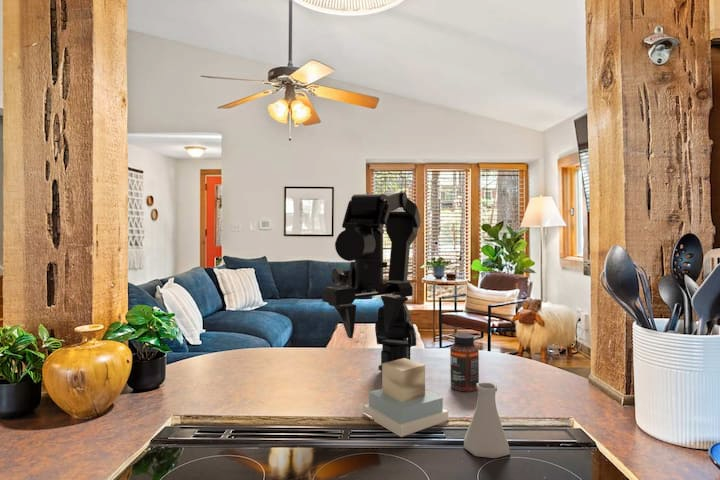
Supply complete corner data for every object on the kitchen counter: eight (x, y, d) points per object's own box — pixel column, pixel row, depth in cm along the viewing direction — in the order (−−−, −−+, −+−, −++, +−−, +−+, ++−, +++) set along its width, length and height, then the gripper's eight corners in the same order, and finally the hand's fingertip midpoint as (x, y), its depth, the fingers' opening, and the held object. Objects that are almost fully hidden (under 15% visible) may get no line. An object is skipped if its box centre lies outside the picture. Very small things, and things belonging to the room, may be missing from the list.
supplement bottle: (481, 385, 100) (481, 333, 99) (475, 394, 94) (476, 340, 94) (453, 381, 102) (454, 330, 102) (447, 390, 97) (447, 337, 96)
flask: (456, 438, 75) (457, 378, 75) (499, 436, 76) (500, 376, 75) (471, 461, 68) (471, 394, 68) (518, 458, 69) (519, 393, 68)
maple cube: (405, 386, 87) (404, 357, 87) (425, 395, 83) (424, 365, 83) (382, 392, 84) (382, 363, 84) (401, 402, 80) (401, 371, 79)
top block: (409, 394, 90) (409, 382, 90) (442, 411, 82) (442, 397, 82) (368, 405, 85) (368, 391, 85) (400, 424, 77) (400, 409, 77)
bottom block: (407, 404, 91) (407, 392, 91) (448, 424, 82) (448, 411, 82) (362, 418, 85) (362, 405, 85) (401, 441, 76) (401, 426, 76)
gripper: (381, 252, 103) (381, 321, 104) (308, 256, 93) (308, 333, 93) (414, 255, 94) (414, 330, 95) (337, 260, 83) (338, 345, 84)
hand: (369, 334), depth 92 cm, fingers open, 9 cm apart
